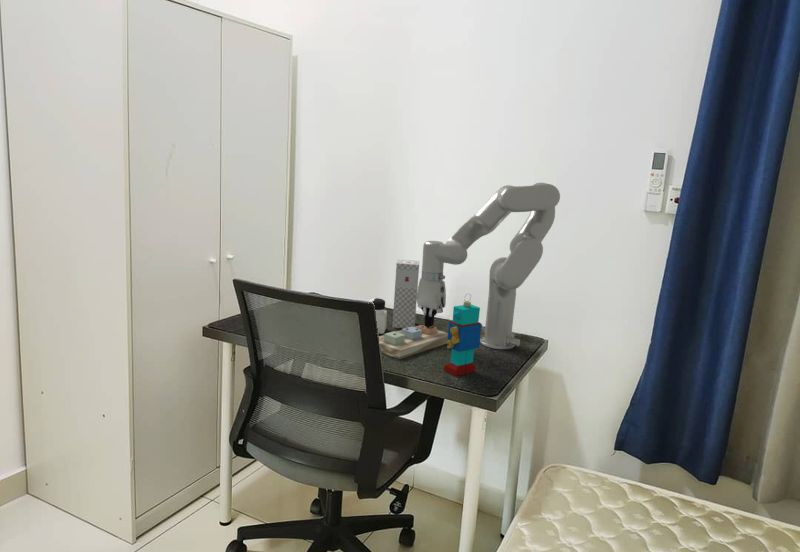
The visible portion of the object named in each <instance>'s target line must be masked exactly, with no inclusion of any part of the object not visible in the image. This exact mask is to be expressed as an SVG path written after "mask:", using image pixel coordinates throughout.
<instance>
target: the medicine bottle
mask: <svg viewBox="0 0 800 552" xmlns="http://www.w3.org/2000/svg"><path fill="white" fill-rule="evenodd" d="M369 302H373V303H374V305H375V311H376V321H377V328H378V333H377V334H381V335H384V334H385V332H386V329H387V318H388V317H387V316H388V311H387V310H386V300H385V299H383V298H378V297H375V298H371V299H369V300H368V303H369Z"/></svg>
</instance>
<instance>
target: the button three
mask: <svg viewBox="0 0 800 552" xmlns="http://www.w3.org/2000/svg"><path fill="white" fill-rule="evenodd" d="M422 325H423V326H419V325H418V326H419V327H418V329H420V330H422V333H423V334H426V335H432V334H435V333H437V330H438V327H436V326H434V325H433V326H431V327H426V326H425V324H422Z"/></svg>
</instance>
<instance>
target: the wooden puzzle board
mask: <svg viewBox="0 0 800 552" xmlns="http://www.w3.org/2000/svg"><path fill="white" fill-rule="evenodd" d="M423 325H424V324H419V325H415V327H414V328H417V329H418V327H419V326H423ZM396 332H398V333H402V329H401V330H397V331H396ZM378 337H379V344H380V348H381V352H380V353H382V354H384V355H387V356H388V357H391V358H395V359H397V360H402V359H406V358H408V357H410V356H413V355H417V354H420V353H423V352H425V351H428V350H431V349H435V348H436V347H437V348H438V347H440V346H443V345H447V344H446V341H447V338H448V332H446V331H442V330H439V329H437V333H435V334H432V335H426V334H423V333H422V336H421V338H419V339H416V340H409V339H406V338H405V343H403V344H399V345H396V346H394V345H391V344H388V343H385V342H384V334H382V335H380V336H378Z"/></svg>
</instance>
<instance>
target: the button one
mask: <svg viewBox="0 0 800 552" xmlns="http://www.w3.org/2000/svg"><path fill="white" fill-rule="evenodd" d="M383 335H384V342H385V343H388V344H391V345H394V346H396V345H399V344H403V343H405V335H404V334H401V333H398V332H397V331H394V330H393V331H391V332H386V333H384V334H383Z"/></svg>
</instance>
